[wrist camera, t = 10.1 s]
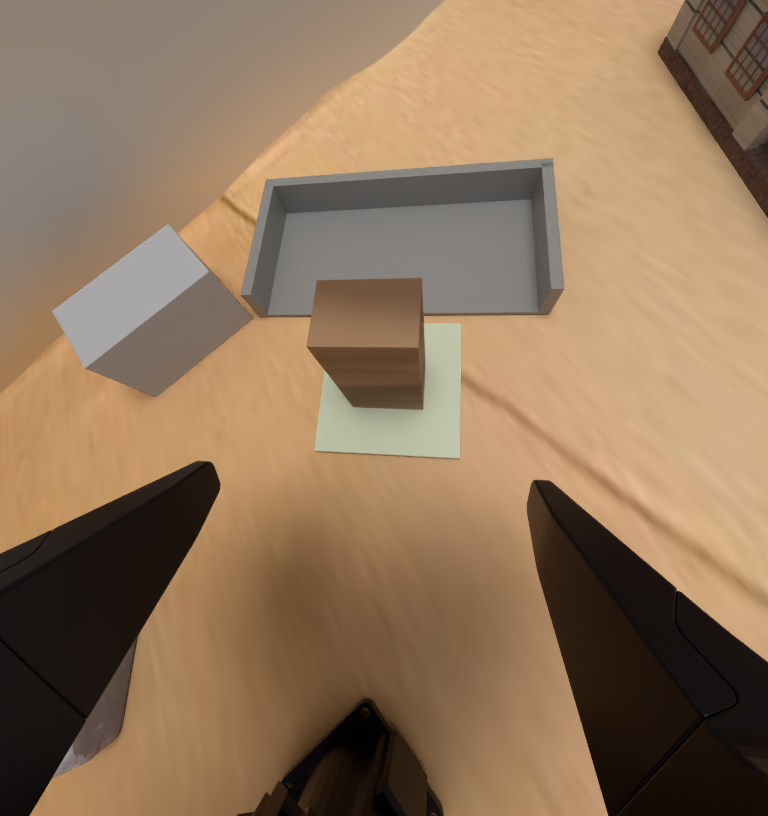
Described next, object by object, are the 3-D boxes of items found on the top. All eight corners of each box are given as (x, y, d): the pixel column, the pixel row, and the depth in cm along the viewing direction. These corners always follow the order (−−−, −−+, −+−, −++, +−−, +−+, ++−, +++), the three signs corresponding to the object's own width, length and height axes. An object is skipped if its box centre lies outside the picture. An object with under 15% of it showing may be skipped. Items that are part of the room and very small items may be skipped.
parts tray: (549, 314, 25) (564, 288, 22) (259, 316, 28) (240, 295, 25) (540, 194, 28) (552, 158, 25) (281, 209, 31) (266, 179, 28)
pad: (459, 459, 23) (459, 458, 22) (315, 451, 24) (314, 450, 24) (460, 325, 25) (460, 323, 25) (332, 326, 27) (330, 323, 26)
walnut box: (423, 409, 23) (418, 347, 14) (353, 407, 24) (306, 346, 15) (425, 362, 24) (422, 275, 15) (358, 361, 25) (316, 278, 16)
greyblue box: (157, 397, 27) (84, 368, 22) (126, 350, 29) (52, 311, 23) (254, 319, 28) (209, 271, 23) (218, 277, 30) (168, 223, 24)
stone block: (28, 722, 23) (132, 748, 20) (-80, 768, 19) (30, 810, 16) (76, 538, 27) (168, 537, 24) (-6, 541, 23) (95, 540, 20)
